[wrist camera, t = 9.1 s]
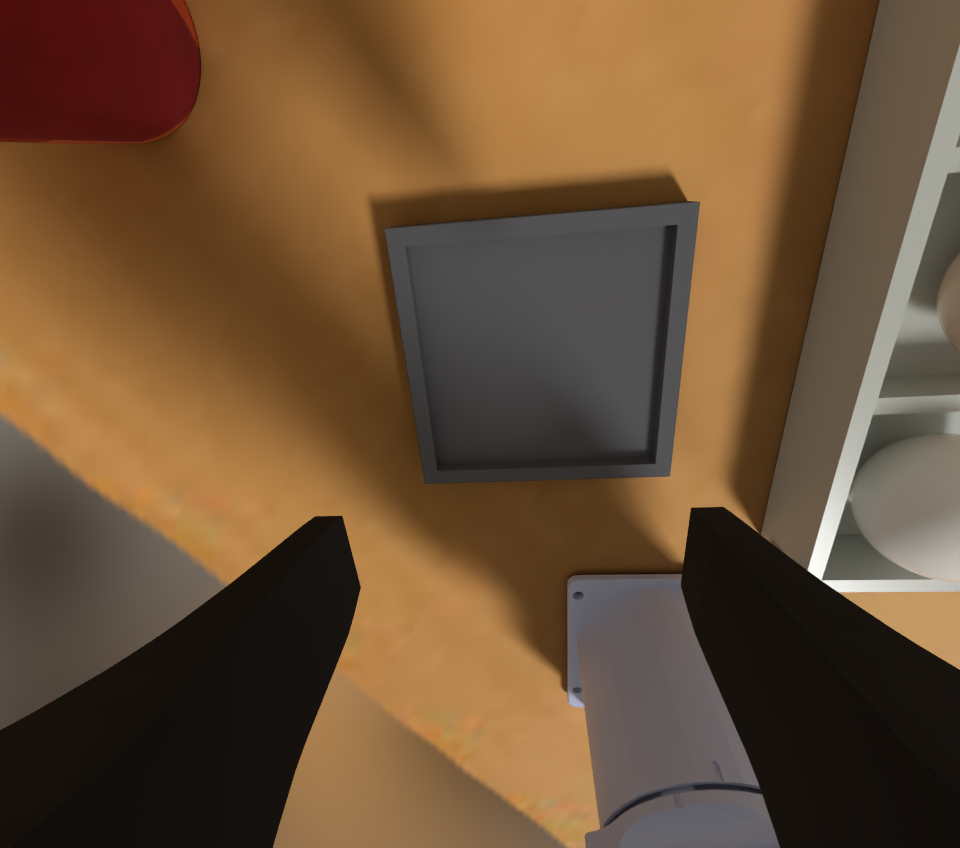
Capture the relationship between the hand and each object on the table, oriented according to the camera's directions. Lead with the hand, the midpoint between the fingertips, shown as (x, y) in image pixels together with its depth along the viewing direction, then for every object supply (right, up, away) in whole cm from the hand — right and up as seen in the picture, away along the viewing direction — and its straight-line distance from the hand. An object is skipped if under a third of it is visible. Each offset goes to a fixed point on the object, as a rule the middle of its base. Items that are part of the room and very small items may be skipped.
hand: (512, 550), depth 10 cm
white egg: (+15, +1, +8) cm, 18 cm away
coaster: (+2, +5, +8) cm, 10 cm away
